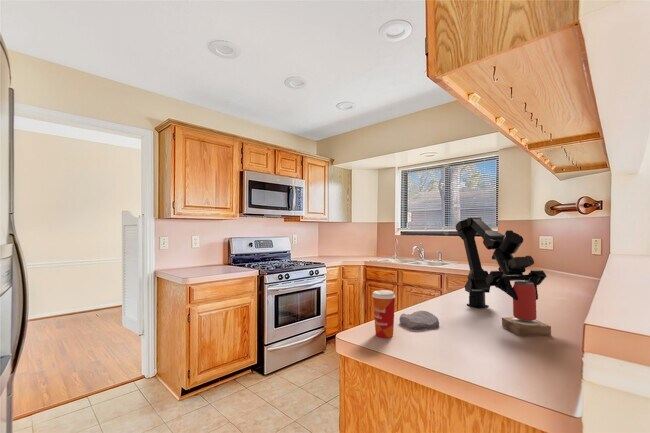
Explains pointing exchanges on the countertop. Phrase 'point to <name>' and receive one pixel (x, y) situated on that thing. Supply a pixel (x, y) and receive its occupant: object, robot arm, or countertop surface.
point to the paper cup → (384, 313)
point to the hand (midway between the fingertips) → (526, 299)
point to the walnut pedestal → (526, 327)
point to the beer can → (524, 301)
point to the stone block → (419, 320)
